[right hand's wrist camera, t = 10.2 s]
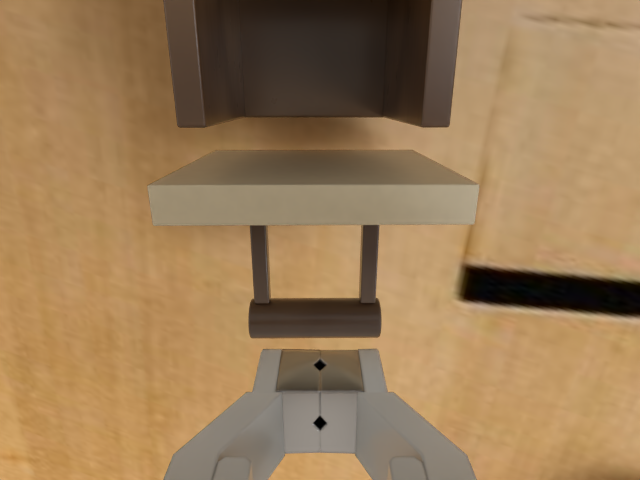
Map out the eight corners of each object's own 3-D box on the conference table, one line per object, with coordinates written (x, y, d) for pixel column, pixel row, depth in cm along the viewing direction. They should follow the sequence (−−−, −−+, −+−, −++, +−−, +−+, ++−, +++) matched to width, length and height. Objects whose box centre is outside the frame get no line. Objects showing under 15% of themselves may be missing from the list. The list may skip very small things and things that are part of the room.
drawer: (403, 284, 21) (453, 389, 14) (226, 285, 21) (176, 391, 14) (452, -377, 13) (640, -1028, 6) (170, -381, 13) (-32, -1051, 6)
